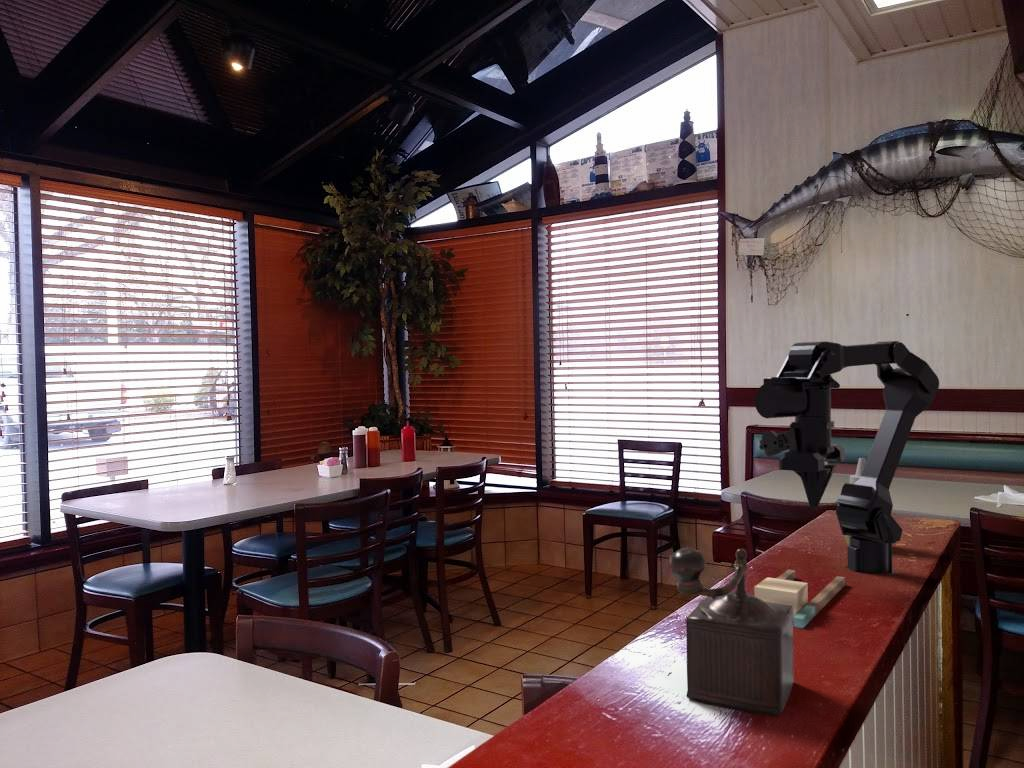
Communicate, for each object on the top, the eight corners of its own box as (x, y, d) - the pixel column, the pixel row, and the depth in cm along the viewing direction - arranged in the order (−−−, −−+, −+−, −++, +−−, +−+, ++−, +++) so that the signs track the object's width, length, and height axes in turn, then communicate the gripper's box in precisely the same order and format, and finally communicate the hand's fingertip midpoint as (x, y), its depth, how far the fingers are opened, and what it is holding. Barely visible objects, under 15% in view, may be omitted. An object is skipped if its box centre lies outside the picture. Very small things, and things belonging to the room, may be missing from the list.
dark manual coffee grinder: (702, 666, 97) (700, 523, 96) (796, 682, 91) (794, 531, 91) (665, 717, 83) (662, 550, 83) (772, 739, 78) (769, 561, 77)
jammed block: (767, 603, 119) (767, 577, 119) (807, 609, 116) (807, 583, 116) (754, 613, 114) (754, 586, 114) (796, 620, 111) (796, 593, 111)
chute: (786, 580, 134) (785, 569, 134) (847, 589, 128) (847, 577, 128) (735, 620, 113) (735, 607, 113) (805, 633, 108) (805, 619, 107)
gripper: (781, 411, 143) (782, 495, 144) (747, 418, 128) (748, 511, 129) (845, 412, 137) (845, 500, 137) (816, 419, 122) (818, 518, 122)
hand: (813, 507), depth 131 cm, fingers closed
